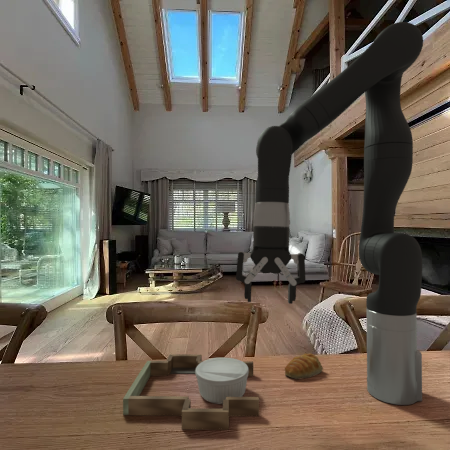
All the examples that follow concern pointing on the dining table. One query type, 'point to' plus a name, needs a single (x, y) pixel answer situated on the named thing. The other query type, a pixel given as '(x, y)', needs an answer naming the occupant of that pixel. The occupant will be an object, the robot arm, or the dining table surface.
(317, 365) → the pastry
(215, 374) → the ramekin
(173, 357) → the box
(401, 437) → the dining table surface
